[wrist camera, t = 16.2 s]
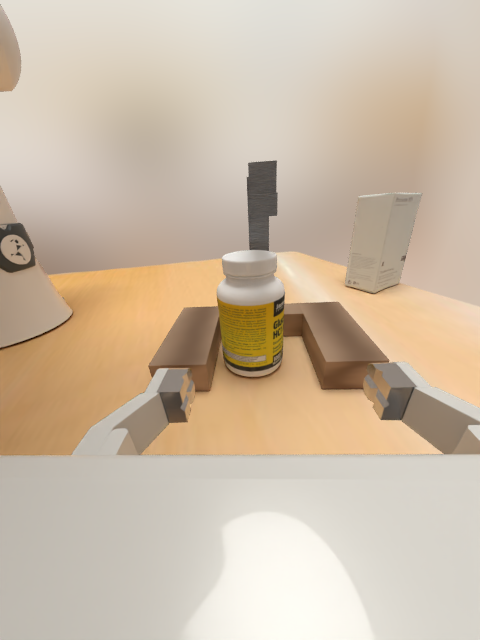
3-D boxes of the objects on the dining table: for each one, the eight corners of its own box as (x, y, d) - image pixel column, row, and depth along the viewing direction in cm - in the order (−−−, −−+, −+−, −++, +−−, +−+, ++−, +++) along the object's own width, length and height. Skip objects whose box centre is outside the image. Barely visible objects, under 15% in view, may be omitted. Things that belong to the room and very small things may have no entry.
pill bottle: (285, 380, 21) (290, 262, 16) (220, 379, 22) (205, 265, 17) (279, 343, 27) (282, 246, 22) (227, 343, 27) (218, 249, 22)
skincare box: (373, 294, 38) (396, 192, 31) (342, 285, 43) (356, 195, 36) (400, 283, 42) (426, 190, 35) (368, 276, 46) (385, 193, 39)
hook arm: (254, 391, 20) (244, 161, 12) (252, 326, 31) (247, 179, 23) (276, 391, 20) (281, 158, 12) (267, 326, 30) (267, 177, 23)
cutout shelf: (156, 391, 21) (148, 365, 20) (187, 327, 32) (184, 307, 30) (381, 388, 20) (389, 360, 18) (335, 322, 30) (338, 301, 29)
